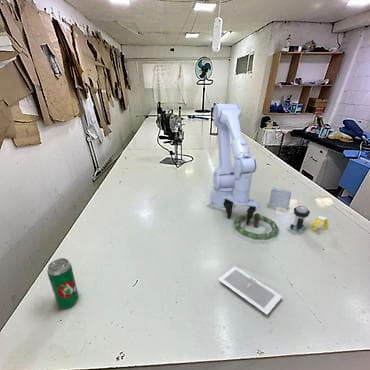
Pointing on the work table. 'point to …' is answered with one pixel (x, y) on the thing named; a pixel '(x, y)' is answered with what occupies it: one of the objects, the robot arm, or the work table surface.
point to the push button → (299, 218)
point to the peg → (256, 220)
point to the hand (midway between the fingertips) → (238, 220)
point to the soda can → (63, 283)
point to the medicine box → (280, 197)
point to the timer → (320, 218)
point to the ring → (252, 235)
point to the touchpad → (251, 289)
